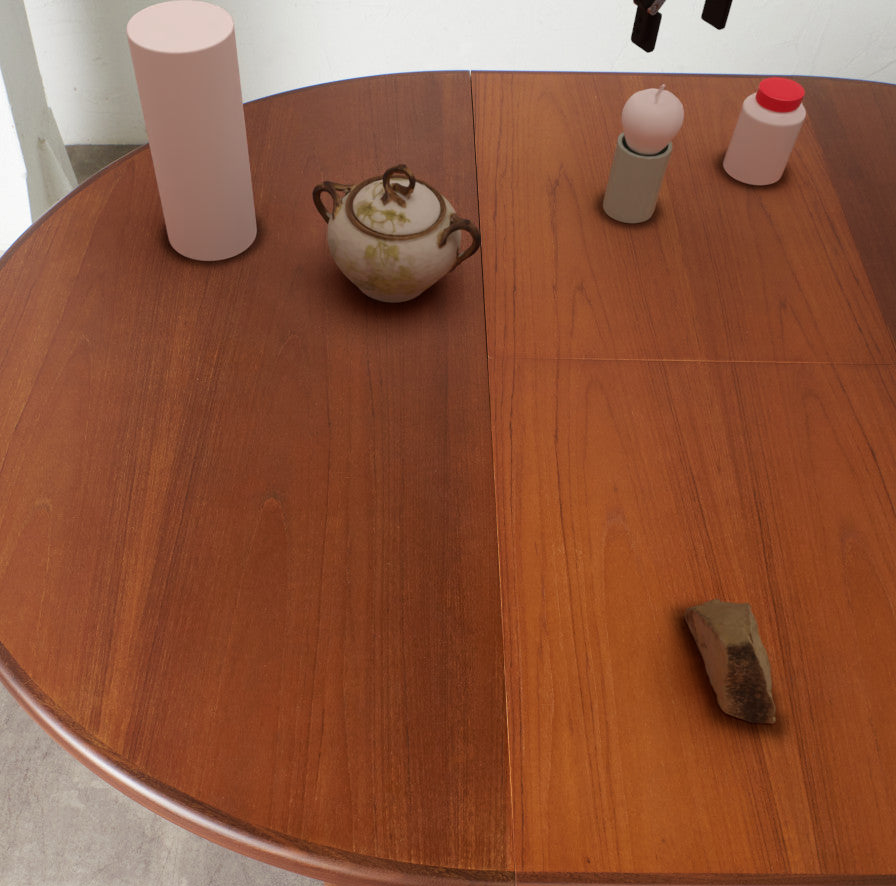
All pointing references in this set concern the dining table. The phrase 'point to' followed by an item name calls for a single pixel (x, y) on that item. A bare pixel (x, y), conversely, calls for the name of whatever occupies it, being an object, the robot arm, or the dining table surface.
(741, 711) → the rock
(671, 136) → the apple
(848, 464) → the dining table surface
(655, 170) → the cup
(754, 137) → the pill bottle
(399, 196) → the sugar bowl
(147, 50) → the tall pillar cylinder
